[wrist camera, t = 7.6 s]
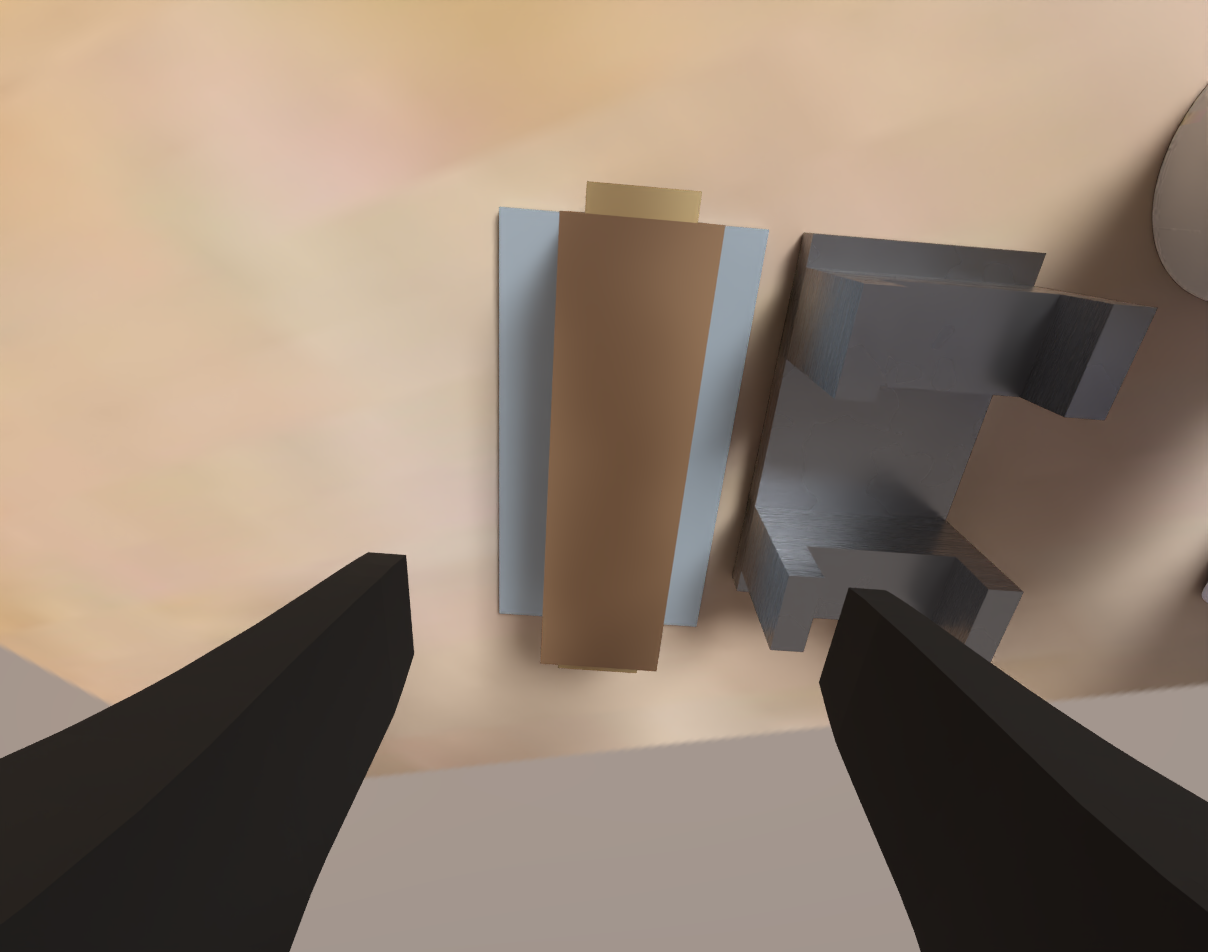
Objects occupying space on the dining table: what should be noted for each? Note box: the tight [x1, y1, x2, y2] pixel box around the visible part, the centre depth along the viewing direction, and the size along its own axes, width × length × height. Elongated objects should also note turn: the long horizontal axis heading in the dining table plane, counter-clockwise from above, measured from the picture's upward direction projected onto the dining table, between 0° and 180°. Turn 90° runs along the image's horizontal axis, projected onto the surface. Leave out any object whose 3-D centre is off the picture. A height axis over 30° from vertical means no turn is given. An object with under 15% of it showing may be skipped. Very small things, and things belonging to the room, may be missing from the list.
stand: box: [732, 233, 1157, 662], centre depth 15 cm, size 6×11×4 cm, turn 176°
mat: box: [499, 207, 769, 627], centre depth 18 cm, size 7×13×1 cm, turn 176°
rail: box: [540, 181, 725, 673], centre depth 16 cm, size 3×13×3 cm, turn 176°
